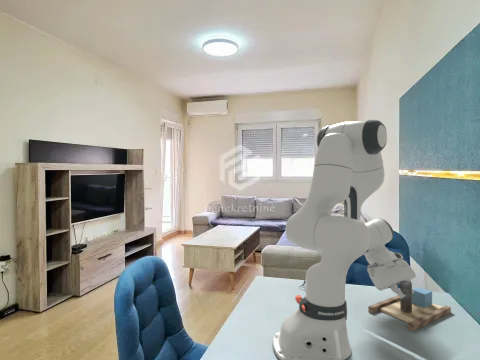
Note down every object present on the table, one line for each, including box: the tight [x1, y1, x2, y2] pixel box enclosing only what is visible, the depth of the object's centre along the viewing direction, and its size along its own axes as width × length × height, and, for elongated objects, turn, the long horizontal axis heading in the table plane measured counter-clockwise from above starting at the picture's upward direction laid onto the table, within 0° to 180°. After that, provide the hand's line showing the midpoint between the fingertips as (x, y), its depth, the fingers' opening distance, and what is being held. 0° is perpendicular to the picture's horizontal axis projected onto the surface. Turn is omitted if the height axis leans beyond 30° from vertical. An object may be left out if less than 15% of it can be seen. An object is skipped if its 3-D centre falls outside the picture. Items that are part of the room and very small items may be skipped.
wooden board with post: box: [379, 281, 443, 324], centre depth 107 cm, size 20×12×11 cm, turn 121°
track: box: [367, 294, 452, 332], centre depth 107 cm, size 24×16×3 cm, turn 121°
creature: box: [299, 279, 306, 290], centre depth 133 cm, size 8×5×8 cm
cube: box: [412, 286, 433, 308], centre depth 111 cm, size 5×5×5 cm
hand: (407, 295), depth 105 cm, fingers closed on wooden board with post, 4 cm apart
